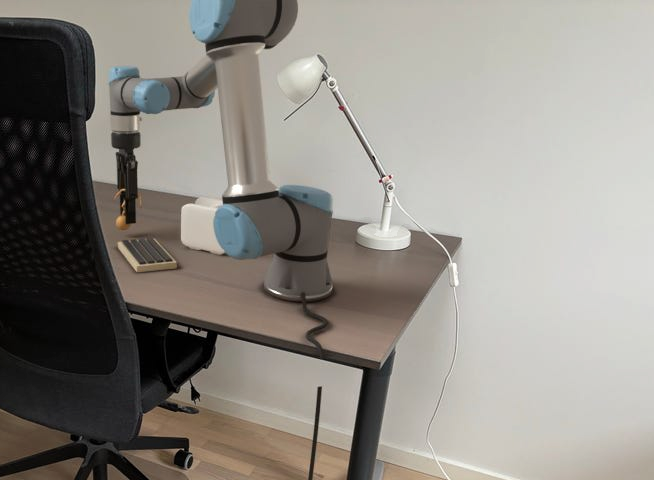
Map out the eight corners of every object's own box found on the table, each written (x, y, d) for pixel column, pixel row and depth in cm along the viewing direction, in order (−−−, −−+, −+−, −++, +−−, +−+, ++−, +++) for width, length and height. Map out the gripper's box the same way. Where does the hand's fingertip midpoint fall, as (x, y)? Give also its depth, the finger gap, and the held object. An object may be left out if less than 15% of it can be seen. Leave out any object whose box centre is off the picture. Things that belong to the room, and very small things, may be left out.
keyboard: (176, 268, 179) (176, 259, 178) (136, 272, 177) (136, 263, 176) (154, 244, 195) (154, 236, 194) (117, 247, 193) (117, 239, 192)
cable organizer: (177, 246, 194) (177, 203, 189) (198, 236, 202) (199, 194, 196) (227, 257, 187) (229, 212, 181) (247, 246, 195) (249, 202, 189)
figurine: (105, 227, 201) (109, 186, 193) (117, 218, 205) (120, 178, 197) (132, 237, 198) (136, 197, 191) (143, 228, 203) (148, 188, 195)
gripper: (149, 136, 182) (150, 228, 193) (131, 125, 198) (133, 211, 208) (119, 138, 180) (122, 231, 191) (103, 126, 196) (107, 213, 206)
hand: (128, 220), depth 199 cm, fingers open, 5 cm apart
